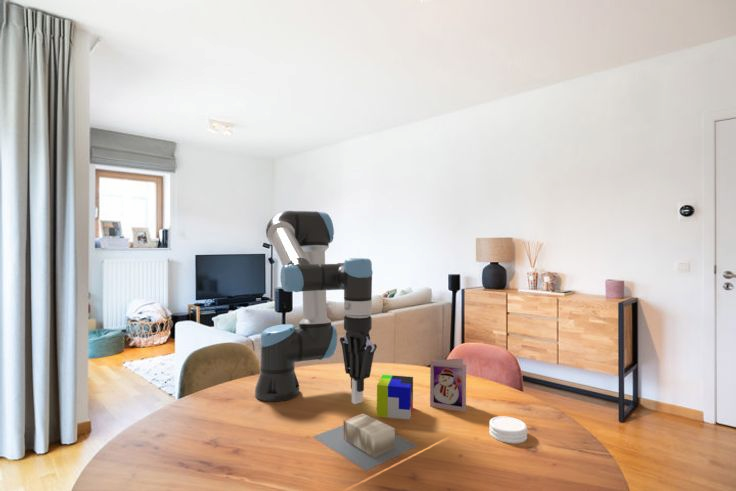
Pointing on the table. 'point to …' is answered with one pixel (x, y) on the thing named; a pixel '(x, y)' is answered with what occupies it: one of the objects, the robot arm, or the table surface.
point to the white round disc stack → (508, 429)
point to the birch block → (369, 434)
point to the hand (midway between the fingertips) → (357, 402)
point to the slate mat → (355, 454)
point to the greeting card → (448, 384)
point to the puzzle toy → (395, 396)
